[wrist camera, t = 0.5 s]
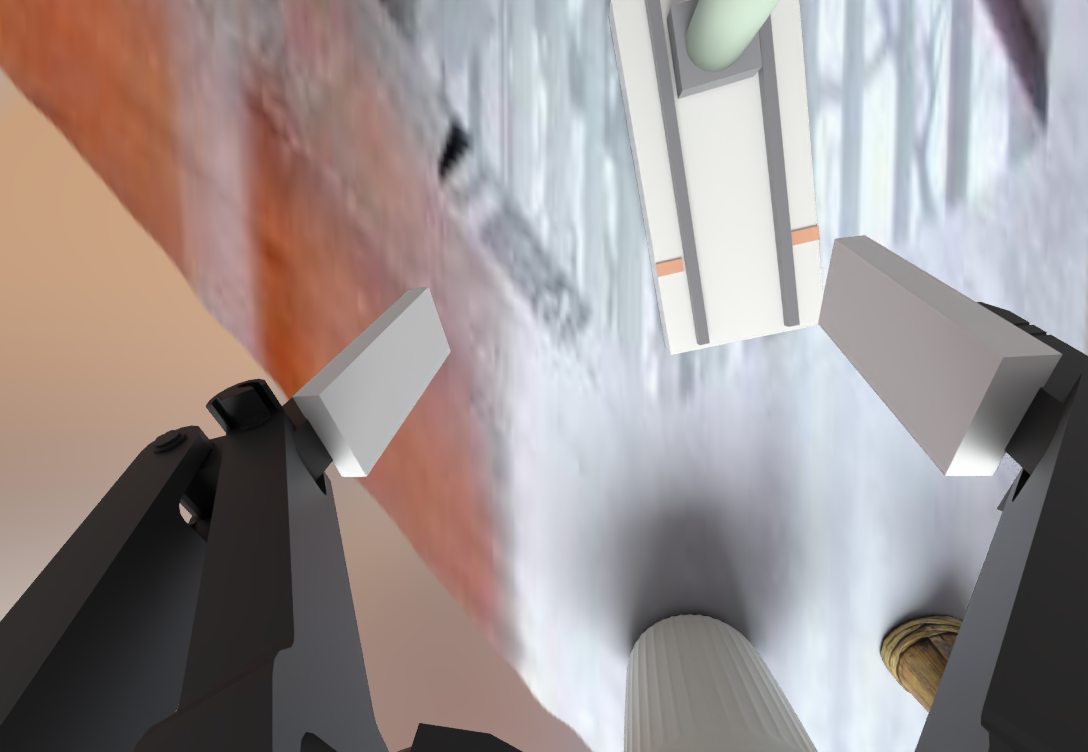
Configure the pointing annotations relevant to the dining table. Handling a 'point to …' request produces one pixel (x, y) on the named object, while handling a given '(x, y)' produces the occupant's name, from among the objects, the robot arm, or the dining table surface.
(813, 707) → the dining table surface
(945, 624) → the wooden mug
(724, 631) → the canister
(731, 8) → the fader knob
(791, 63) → the fader console
